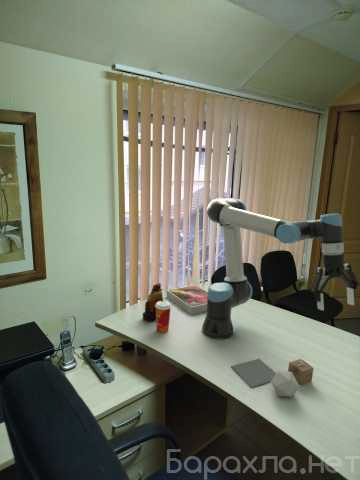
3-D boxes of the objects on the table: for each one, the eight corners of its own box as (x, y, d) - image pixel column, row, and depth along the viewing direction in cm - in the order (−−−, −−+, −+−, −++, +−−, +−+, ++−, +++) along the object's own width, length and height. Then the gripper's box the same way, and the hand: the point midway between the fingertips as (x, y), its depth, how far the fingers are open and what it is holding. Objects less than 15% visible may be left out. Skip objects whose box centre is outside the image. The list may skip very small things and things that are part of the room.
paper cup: (154, 326, 148) (155, 300, 145) (170, 326, 148) (170, 300, 146) (154, 334, 140) (155, 307, 137) (170, 334, 141) (171, 307, 138)
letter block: (287, 376, 114) (289, 361, 113) (299, 372, 116) (301, 358, 115) (299, 386, 109) (301, 370, 107) (311, 382, 111) (313, 367, 110)
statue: (156, 312, 163) (157, 278, 159) (164, 318, 157) (165, 282, 153) (137, 318, 155) (137, 282, 151) (145, 324, 149) (146, 287, 146)
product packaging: (191, 315, 162) (191, 307, 161) (166, 297, 186) (166, 290, 185) (222, 308, 174) (222, 300, 173) (195, 292, 197) (195, 284, 196)
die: (293, 408, 98) (307, 382, 100) (271, 393, 99) (285, 367, 100) (284, 399, 106) (297, 375, 108) (263, 385, 107) (277, 361, 108)
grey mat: (230, 367, 118) (230, 366, 118) (259, 359, 124) (259, 358, 123) (251, 388, 106) (251, 386, 106) (281, 378, 112) (281, 377, 112)
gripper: (310, 258, 109) (314, 314, 111) (368, 250, 114) (370, 304, 116) (298, 256, 117) (301, 308, 118) (353, 249, 122) (355, 300, 123)
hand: (335, 307), depth 117 cm, fingers open, 13 cm apart
